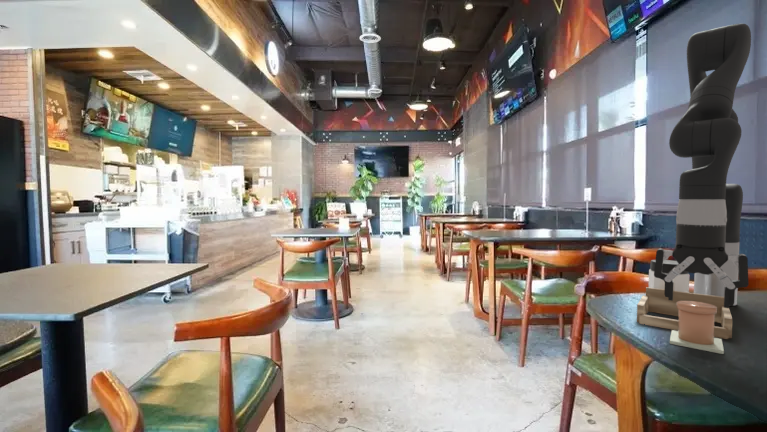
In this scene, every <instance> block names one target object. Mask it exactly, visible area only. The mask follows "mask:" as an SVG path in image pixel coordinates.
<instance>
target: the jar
mask: <svg viewBox="0 0 767 432" xmlns="http://www.w3.org/2000/svg"><path fill="white" fill-rule="evenodd" d="M655 260H656V259H651V260H650V268H649V269H648V287H649V288H657V289H665V282H664V280H662V279H660V278H656V277H655V276H654V269H655ZM678 264H679V263H678V262H677V261H676V260H669V259H667V260H663V268H662V272H663V273H666V274H668V273H669V272H670V271H671V270H672V269H673V268H674V267H675V266H677V265H678ZM690 275H691V274H690V273H688V272H686V271H685V270H683V271H682V272H681V273H680V274H679V275H678V276H676V277H675V278H674V279H673V281H674V286H673V291H681V292H689V293H690Z"/></svg>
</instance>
